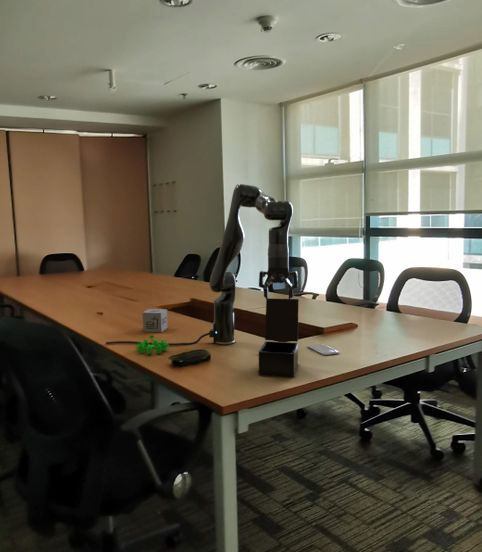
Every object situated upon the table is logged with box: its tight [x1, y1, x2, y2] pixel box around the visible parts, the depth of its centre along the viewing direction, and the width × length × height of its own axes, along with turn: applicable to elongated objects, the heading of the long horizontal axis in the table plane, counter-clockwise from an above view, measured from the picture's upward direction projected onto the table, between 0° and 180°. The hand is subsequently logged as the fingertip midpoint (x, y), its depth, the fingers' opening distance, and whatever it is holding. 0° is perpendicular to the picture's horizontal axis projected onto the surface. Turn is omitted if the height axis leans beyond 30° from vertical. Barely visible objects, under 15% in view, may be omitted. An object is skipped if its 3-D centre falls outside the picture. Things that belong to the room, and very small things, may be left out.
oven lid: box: [264, 297, 300, 343], centre depth 197 cm, size 17×13×5 cm
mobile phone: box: [307, 343, 339, 356], centre depth 213 cm, size 8×1×15 cm
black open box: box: [258, 340, 299, 378], centre depth 187 cm, size 16×13×9 cm
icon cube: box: [142, 308, 168, 333], centre depth 258 cm, size 10×10×10 cm
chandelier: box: [135, 334, 170, 356], centre depth 217 cm, size 15×15×7 cm
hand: (278, 299), depth 183 cm, fingers open, 8 cm apart
